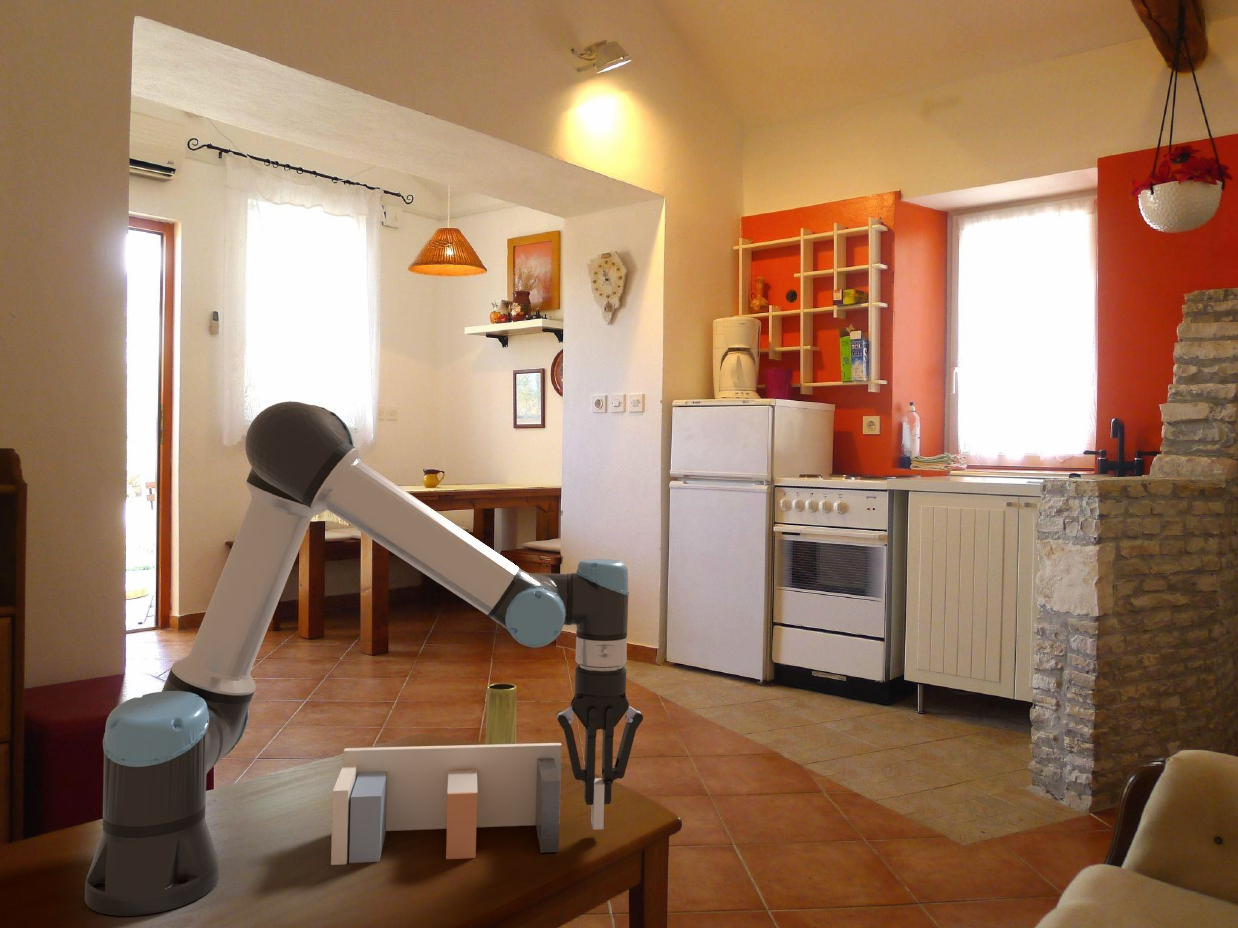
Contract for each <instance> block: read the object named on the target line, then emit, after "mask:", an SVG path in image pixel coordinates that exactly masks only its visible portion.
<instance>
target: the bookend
mask: <svg viewBox="0 0 1238 928" xmlns="http://www.w3.org/2000/svg"><path fill="white" fill-rule="evenodd" d="M559 815H560V816H561V792H560V778H559V775H558V771H557V768H556V764H555V761H554V758H542V759H537V787H536V825H535V828H536V829H535V830H536V834H537V840H538V845H539V849H540V853H558V852H559V848H560V846H559V845H560V824H559Z"/></svg>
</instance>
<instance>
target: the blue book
mask: <svg viewBox="0 0 1238 928" xmlns="http://www.w3.org/2000/svg"><path fill="white" fill-rule="evenodd" d="M386 801H387V772H359V774H358V777H357V780H356V783H355V786H354V789H353V792H352V795H351V808H350V849H349V857H348V863H349V864H357V863H373V862H374V863H377V862H380V860H381V857H382V852H383V846H384V842H385V838H386V832H387V831H386Z"/></svg>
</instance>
